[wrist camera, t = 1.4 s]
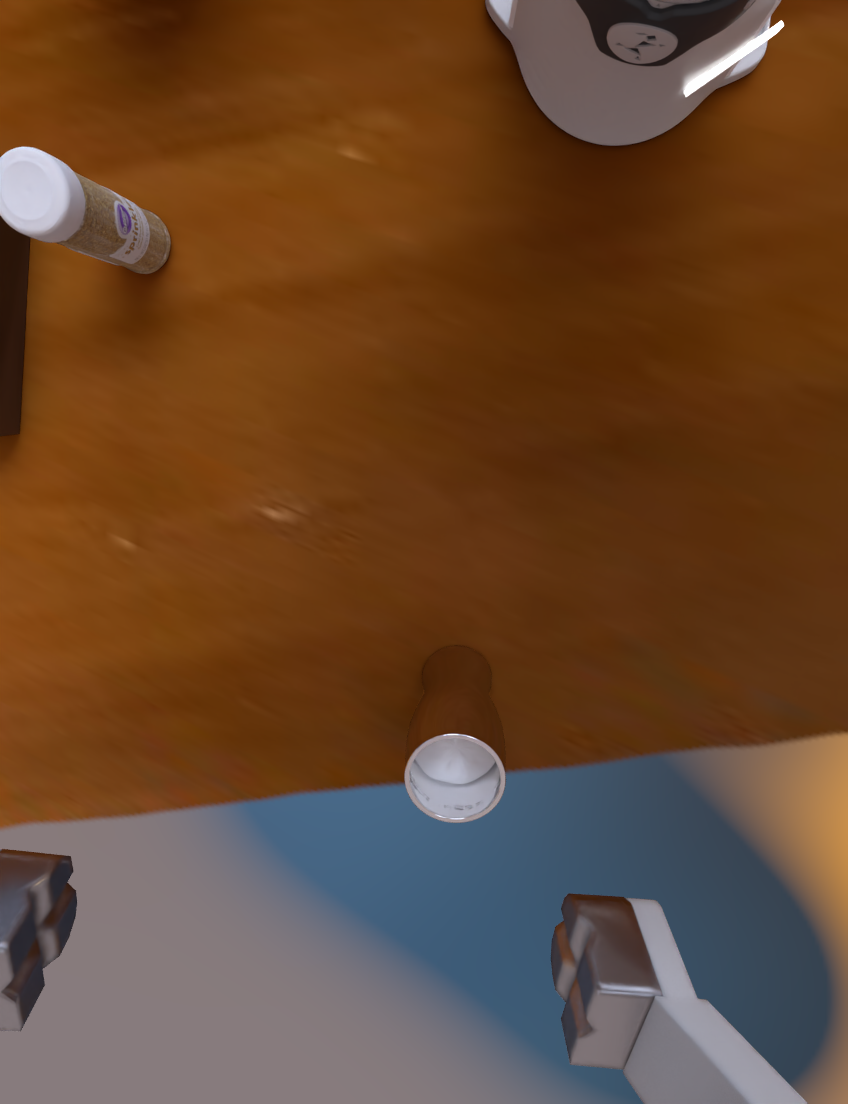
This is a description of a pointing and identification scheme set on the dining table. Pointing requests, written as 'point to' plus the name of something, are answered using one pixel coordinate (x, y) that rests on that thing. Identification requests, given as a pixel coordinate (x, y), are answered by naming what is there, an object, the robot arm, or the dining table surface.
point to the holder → (12, 324)
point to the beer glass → (455, 739)
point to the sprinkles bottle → (78, 212)
